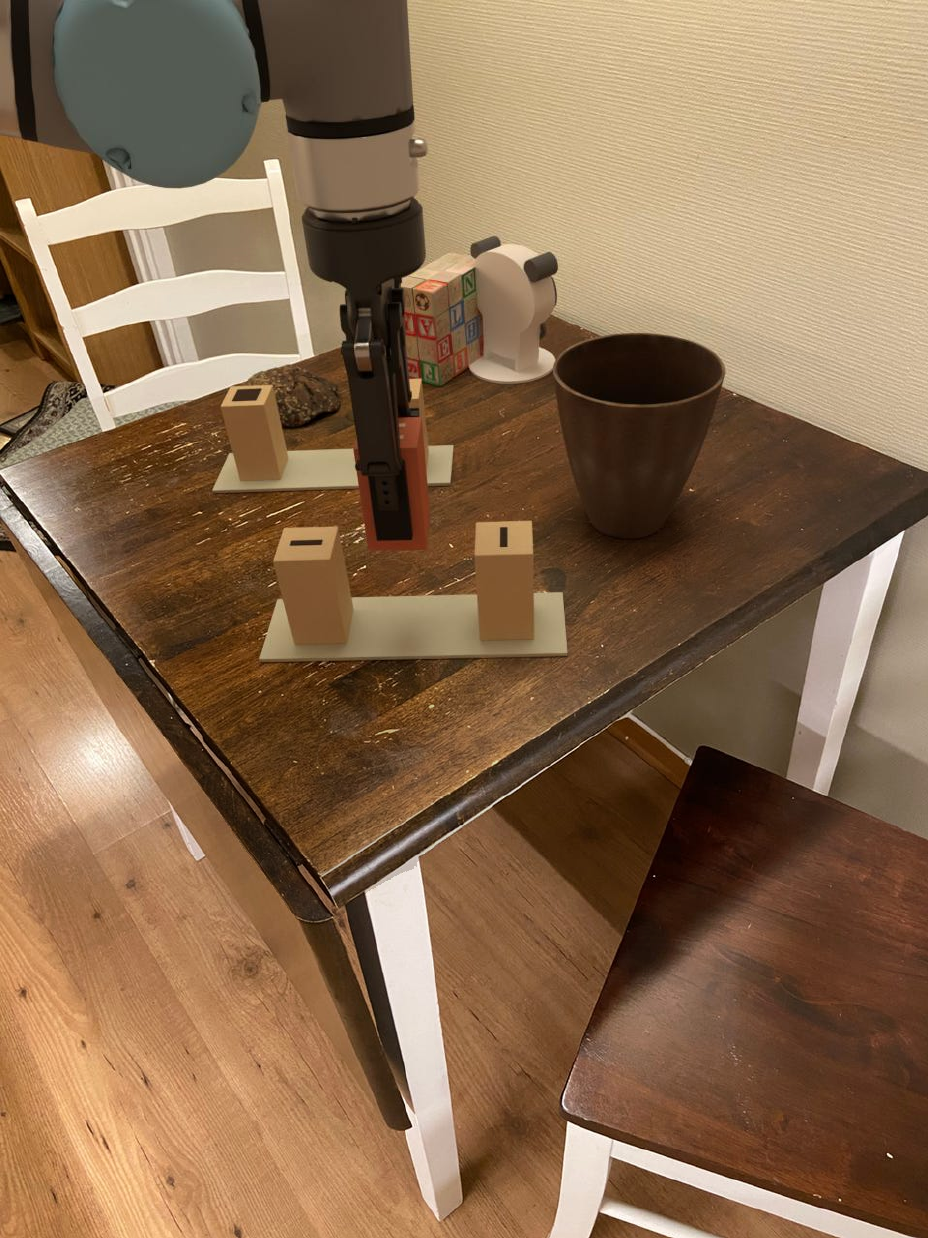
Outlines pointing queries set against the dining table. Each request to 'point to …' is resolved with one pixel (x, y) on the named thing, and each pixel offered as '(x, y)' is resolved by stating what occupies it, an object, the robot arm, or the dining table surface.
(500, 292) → the panda figurine
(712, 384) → the flower pot
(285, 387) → the bread roll
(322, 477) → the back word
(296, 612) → the front word
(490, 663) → the dining table surface
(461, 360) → the stack of blocks
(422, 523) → the equals sign block
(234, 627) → the dining table surface
